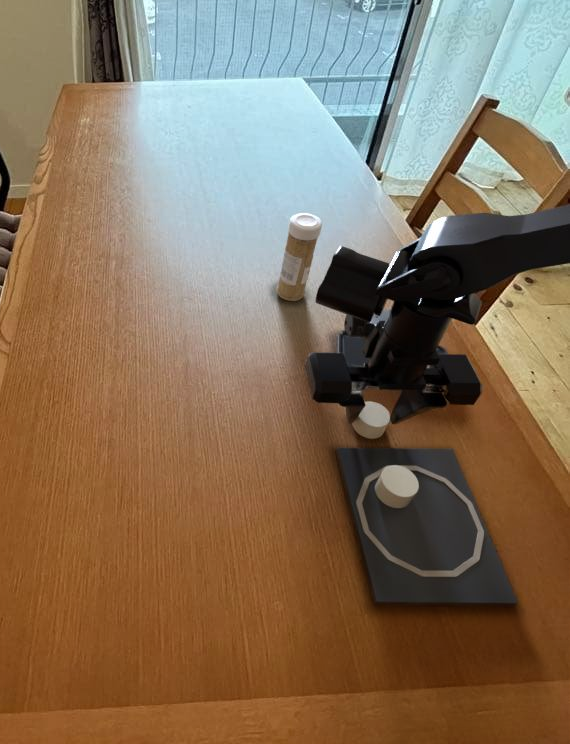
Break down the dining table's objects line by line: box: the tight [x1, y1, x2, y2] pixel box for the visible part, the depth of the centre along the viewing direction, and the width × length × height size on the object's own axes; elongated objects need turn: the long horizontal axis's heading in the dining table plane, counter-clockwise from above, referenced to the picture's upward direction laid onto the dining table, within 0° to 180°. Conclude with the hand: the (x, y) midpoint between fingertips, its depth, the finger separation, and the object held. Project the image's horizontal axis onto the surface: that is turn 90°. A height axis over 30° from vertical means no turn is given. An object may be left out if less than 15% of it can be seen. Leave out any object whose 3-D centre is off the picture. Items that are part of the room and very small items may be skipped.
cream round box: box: [351, 401, 391, 440], centre depth 70 cm, size 4×4×2 cm
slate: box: [335, 447, 519, 608], centre depth 61 cm, size 14×18×1 cm
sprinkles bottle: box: [275, 212, 323, 302], centre depth 84 cm, size 5×5×14 cm
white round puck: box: [375, 465, 419, 508], centre depth 62 cm, size 4×4×2 cm
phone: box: [336, 329, 449, 392], centre depth 78 cm, size 8×1×15 cm
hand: (370, 421), depth 70 cm, fingers open, 5 cm apart
